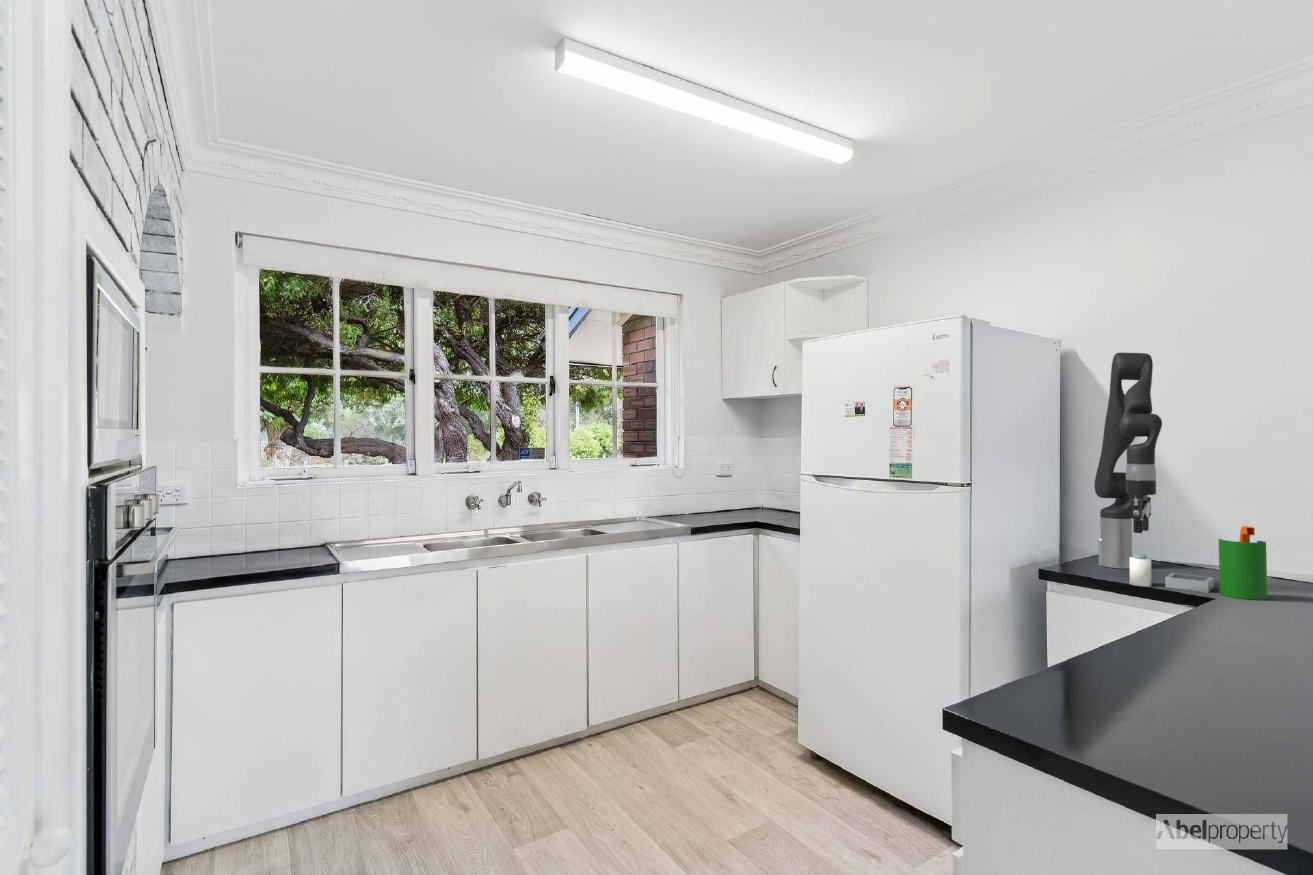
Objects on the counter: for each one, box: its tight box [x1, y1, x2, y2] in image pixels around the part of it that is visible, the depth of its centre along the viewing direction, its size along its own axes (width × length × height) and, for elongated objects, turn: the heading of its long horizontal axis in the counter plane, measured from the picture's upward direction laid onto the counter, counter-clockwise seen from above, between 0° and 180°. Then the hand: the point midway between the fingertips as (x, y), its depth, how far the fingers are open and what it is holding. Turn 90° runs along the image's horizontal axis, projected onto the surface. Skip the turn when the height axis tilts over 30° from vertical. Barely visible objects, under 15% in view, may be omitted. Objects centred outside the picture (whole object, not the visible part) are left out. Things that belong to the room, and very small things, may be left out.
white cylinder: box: [1129, 554, 1152, 587], centre depth 205 cm, size 5×5×9 cm
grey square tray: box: [1164, 572, 1215, 593], centre depth 201 cm, size 10×10×3 cm
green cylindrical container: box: [1218, 525, 1268, 601], centre depth 189 cm, size 10×9×20 cm
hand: (1141, 531), depth 205 cm, fingers open, 8 cm apart
